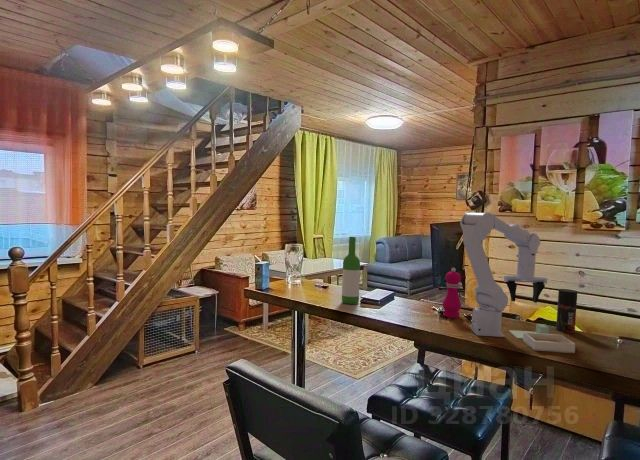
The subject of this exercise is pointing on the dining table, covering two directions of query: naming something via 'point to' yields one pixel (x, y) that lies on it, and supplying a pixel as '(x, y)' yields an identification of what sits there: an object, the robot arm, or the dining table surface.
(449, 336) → the dining table surface
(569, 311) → the deodorant
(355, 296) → the wine bottle
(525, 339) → the tub
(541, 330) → the lid
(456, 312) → the pepper mill
